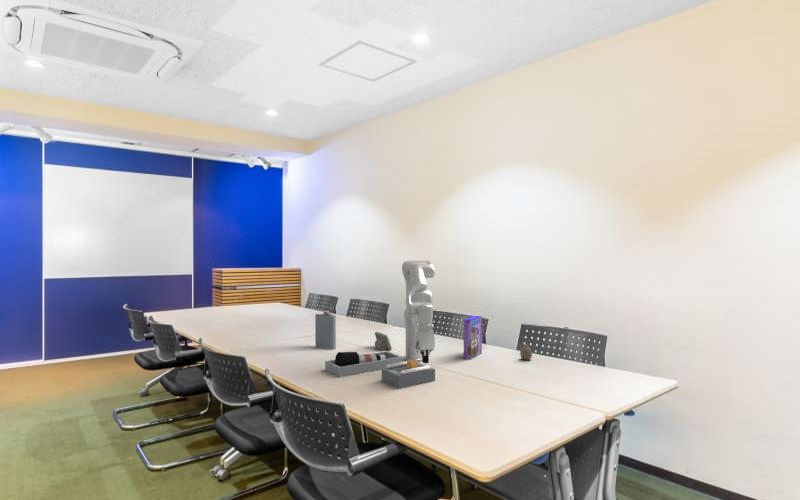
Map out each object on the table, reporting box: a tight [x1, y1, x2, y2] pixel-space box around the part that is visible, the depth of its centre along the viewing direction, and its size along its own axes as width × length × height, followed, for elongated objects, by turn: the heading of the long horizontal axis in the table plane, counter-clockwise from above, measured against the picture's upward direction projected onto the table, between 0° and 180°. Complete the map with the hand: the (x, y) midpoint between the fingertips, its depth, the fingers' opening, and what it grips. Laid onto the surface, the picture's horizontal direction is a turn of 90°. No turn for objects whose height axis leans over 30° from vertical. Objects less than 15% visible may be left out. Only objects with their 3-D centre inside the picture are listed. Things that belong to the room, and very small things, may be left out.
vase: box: [519, 344, 533, 361], centre depth 270 cm, size 7×7×9 cm
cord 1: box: [386, 360, 407, 369], centre depth 234 cm, size 18×2×2 cm, turn 124°
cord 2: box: [401, 364, 432, 375], centre depth 223 cm, size 18×2×2 cm, turn 124°
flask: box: [314, 310, 337, 351], centre depth 305 cm, size 17×5×25 cm, turn 55°
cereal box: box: [463, 315, 483, 360], centre depth 280 cm, size 17×5×24 cm, turn 148°
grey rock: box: [374, 331, 393, 352], centre depth 301 cm, size 16×9×11 cm, turn 19°
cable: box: [334, 351, 390, 367], centre depth 254 cm, size 10×34×10 cm, turn 120°
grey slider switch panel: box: [381, 362, 436, 389], centre depth 229 cm, size 22×16×6 cm
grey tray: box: [324, 350, 404, 378], centre depth 253 cm, size 41×17×5 cm, turn 124°
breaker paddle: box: [407, 360, 419, 369], centre depth 230 cm, size 4×4×4 cm
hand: (425, 362), depth 235 cm, fingers closed
